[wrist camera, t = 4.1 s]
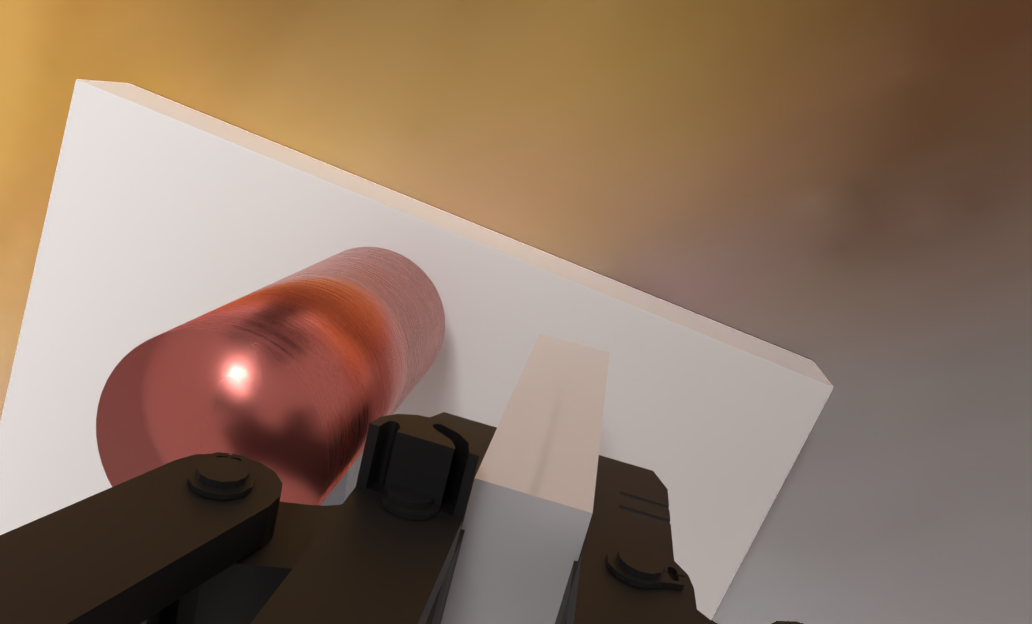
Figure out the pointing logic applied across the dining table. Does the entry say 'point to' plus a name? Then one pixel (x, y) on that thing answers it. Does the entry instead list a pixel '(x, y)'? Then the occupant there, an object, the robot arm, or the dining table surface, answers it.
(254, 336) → the lever
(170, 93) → the dining table surface
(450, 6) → the dining table surface
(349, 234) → the base
